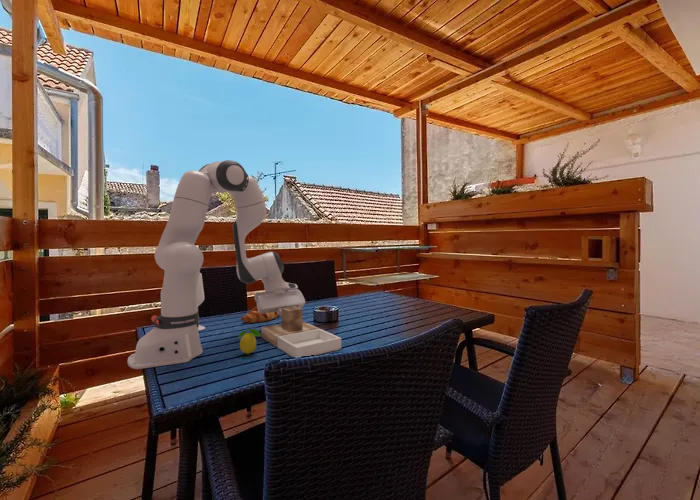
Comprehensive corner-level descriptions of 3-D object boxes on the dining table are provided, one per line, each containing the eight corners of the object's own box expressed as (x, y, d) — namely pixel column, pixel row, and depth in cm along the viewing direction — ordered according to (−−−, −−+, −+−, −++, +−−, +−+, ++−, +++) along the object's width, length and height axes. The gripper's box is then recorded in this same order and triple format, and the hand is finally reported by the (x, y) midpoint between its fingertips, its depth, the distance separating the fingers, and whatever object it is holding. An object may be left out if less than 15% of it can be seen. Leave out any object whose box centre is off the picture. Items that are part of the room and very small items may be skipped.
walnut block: (288, 331, 133) (288, 311, 133) (281, 328, 138) (281, 308, 138) (302, 329, 137) (302, 309, 136) (295, 325, 142) (295, 306, 141)
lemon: (261, 355, 120) (260, 326, 119) (244, 359, 116) (244, 329, 115) (253, 350, 125) (252, 322, 124) (236, 353, 121) (236, 325, 120)
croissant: (277, 321, 176) (273, 306, 179) (288, 315, 170) (283, 300, 172) (238, 329, 161) (234, 312, 164) (248, 323, 155) (244, 305, 157)
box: (296, 359, 115) (296, 347, 115) (277, 347, 128) (277, 336, 127) (341, 348, 126) (341, 338, 126) (319, 338, 138) (319, 328, 138)
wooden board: (276, 346, 128) (276, 335, 128) (261, 337, 140) (261, 327, 139) (318, 337, 139) (318, 327, 139) (301, 329, 150) (301, 320, 150)
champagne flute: (184, 329, 150) (183, 274, 149) (198, 325, 156) (196, 272, 155) (195, 331, 147) (194, 275, 146) (208, 327, 153) (207, 273, 152)
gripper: (254, 288, 140) (264, 317, 133) (300, 284, 152) (311, 310, 145) (250, 297, 144) (260, 326, 136) (295, 292, 156) (306, 318, 149)
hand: (287, 318), depth 141 cm, fingers closed
